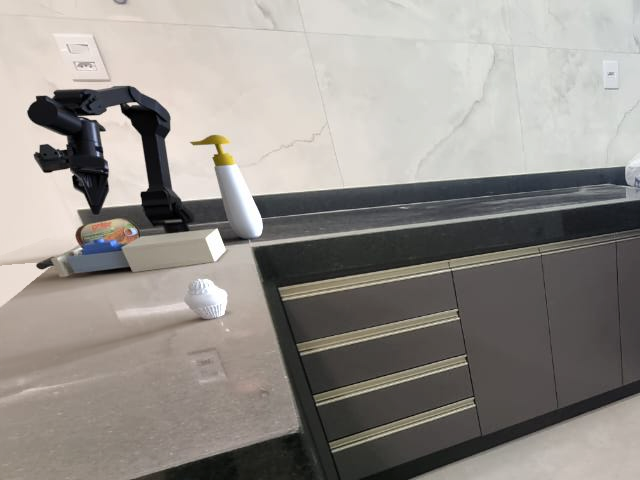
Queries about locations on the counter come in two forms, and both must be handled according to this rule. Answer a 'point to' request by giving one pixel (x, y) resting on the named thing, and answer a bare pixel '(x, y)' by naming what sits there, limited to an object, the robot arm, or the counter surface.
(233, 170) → the soap bottle
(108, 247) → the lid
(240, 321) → the counter surface
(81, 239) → the tin
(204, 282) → the muffin
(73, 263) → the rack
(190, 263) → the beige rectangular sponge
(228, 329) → the counter surface
